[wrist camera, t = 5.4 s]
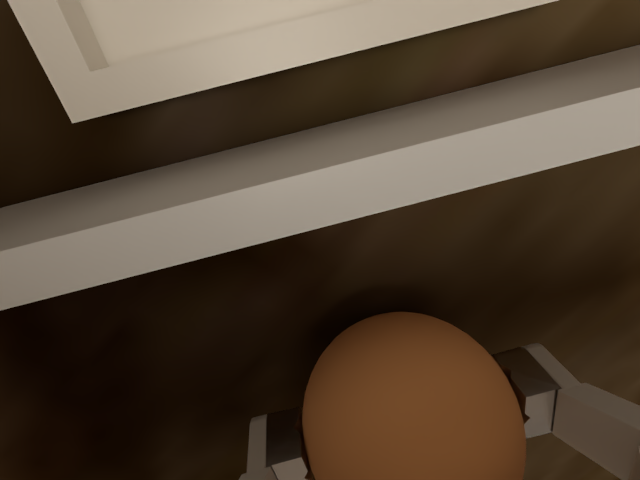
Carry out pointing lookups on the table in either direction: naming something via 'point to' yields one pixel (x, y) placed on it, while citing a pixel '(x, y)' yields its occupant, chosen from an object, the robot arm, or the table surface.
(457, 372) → the ball
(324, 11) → the square tray
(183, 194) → the low wall
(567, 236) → the table surface
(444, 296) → the table surface
